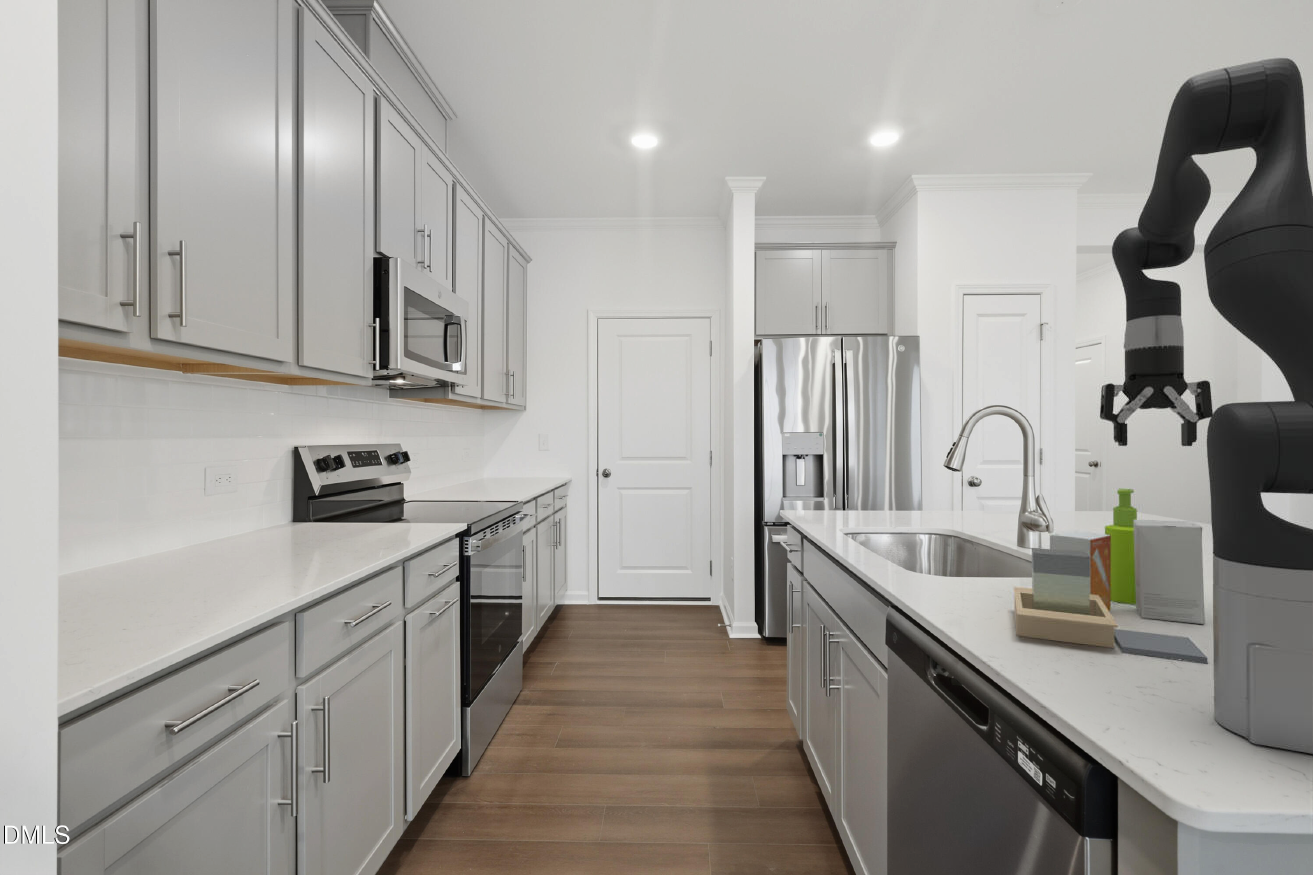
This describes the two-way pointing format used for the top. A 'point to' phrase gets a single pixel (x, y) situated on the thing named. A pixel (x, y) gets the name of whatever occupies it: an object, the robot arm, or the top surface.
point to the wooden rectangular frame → (1064, 622)
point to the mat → (1158, 645)
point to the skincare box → (1169, 570)
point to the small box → (1099, 558)
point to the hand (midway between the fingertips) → (1154, 446)
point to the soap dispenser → (1123, 549)
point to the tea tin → (1061, 581)
